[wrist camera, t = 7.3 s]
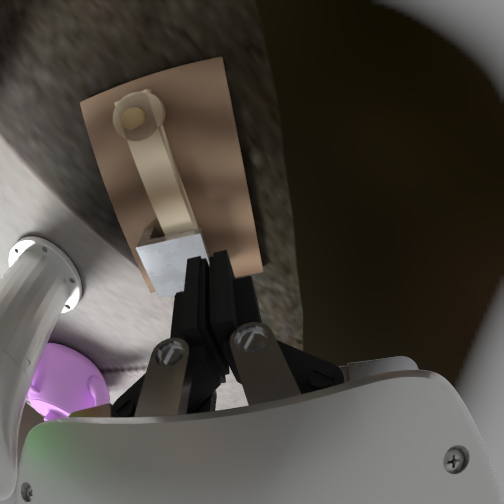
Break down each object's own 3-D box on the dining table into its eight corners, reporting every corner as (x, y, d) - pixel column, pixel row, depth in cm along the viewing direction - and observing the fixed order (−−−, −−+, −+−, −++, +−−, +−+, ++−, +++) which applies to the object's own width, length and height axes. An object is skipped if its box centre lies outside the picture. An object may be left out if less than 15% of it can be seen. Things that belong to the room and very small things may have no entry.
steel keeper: (217, 266, 32) (217, 287, 29) (163, 276, 32) (158, 297, 29) (202, 215, 28) (200, 233, 25) (144, 229, 28) (135, 247, 25)
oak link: (114, 102, 21) (100, 105, 18) (158, 84, 21) (148, 84, 18) (177, 261, 31) (173, 280, 28) (214, 251, 31) (214, 270, 28)
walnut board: (262, 266, 34) (263, 271, 33) (152, 287, 34) (150, 292, 33) (222, 57, 21) (222, 56, 20) (84, 101, 21) (79, 102, 20)
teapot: (149, 393, 49) (144, 454, 37) (69, 390, 49) (57, 441, 37) (95, 320, 37) (69, 399, 25) (11, 325, 36) (-16, 383, 25)
